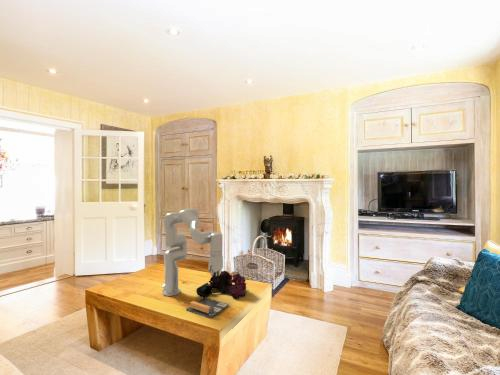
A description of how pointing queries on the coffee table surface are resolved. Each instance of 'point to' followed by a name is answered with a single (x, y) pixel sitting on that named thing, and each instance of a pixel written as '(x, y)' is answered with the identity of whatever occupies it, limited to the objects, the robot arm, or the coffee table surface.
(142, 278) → the coffee table surface
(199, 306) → the bar
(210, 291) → the dark grey toy house
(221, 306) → the tray
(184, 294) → the coffee table surface
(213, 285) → the flower arrangement
